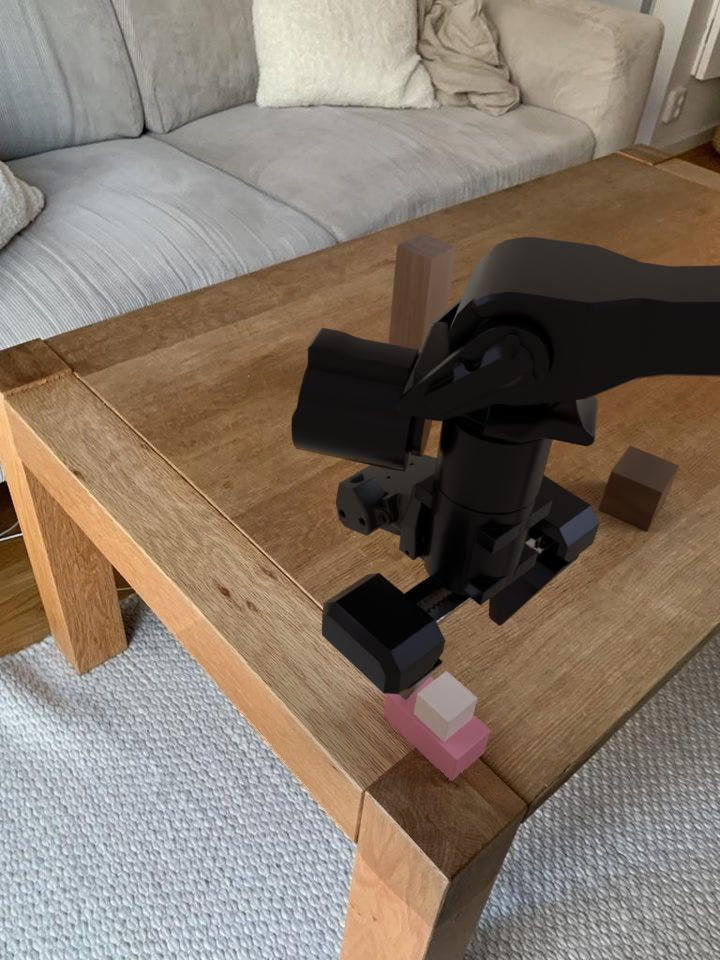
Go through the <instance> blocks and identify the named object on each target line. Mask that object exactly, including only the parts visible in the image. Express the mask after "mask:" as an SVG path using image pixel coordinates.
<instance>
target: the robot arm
mask: <svg viewBox="0 0 720 960" xmlns="http://www.w3.org/2000/svg"><path fill="white" fill-rule="evenodd" d="M418 352H419V354H418ZM658 377H711V378H712V377H713V378H714V377H715V378H716V377H717V378H718V377H719V378H720V265H719V264H717V265H713V264H712V265H664V264H658V263H649V262H644V261H640V260H637V259H635V258H632V257H629V256H626V255H624V254H622V253H619V252H616V251H614V250H611V249H608V248H605V247H603V246H599V245H596V244H588V243H581V242H573V241H566V240H559V239H552V238H543V237H537V236H522V237H521V236H520V237H516V238H511V239H506V240H504V241H502V242H499V243H496V244H495V245H493V247H492V248H491V250H489V251H488V252H487V253H486V254H484V255H483V257H482V258H481V259H480V260H479V261H478V262H477V263H476V264H475V266H474V269H473V271H472V272H471V275H470V277H469V279H468V282H467V284H466V287H465V290H464V291H463V294H462V297H461V298H459V299H458V300H457V301H456V302H455V303H454V304H453V305H451V306H450V307H449V308H448V309H447V311H446V312H445V313H444V314H442V315H441V316H440V317H439V318H438V319H437V320H436V321H434V322H433V323H432V324H431V326H430V328H429V330H428V333H427V335H426V337H425V340H424V342H423V344H422V347H421V349H420V351H419V350H418V349H414V348H408V347H403V346H398V345H393V344H388V342H383V341H382V342H381V341H377V340H372V339H368V338H367V339H366V338H361V337H358V336H354V335H352V334H350V333H348V332H345V331H342V330H338V329H332V328H328V327H322V328H320V329H319V330H318V331H317V333H316V334H315V336H314V338H313V339H312V341H311V342H310V344H309V345H308V347H307V365H306V368H305V371H304V374H303V377H302V379H301V384H300V388H299V392H298V398H297V403H296V408H295V410H294V411H293V413H292V416H291V425H290V426H291V428H290V429H291V430H290V431H291V440H292V444H293V446H294V448H295V449H296V450H300V451H303V452H304V451H305V452H308V453H314V454H319V455H323V456H327V457H331V458H336V459H341V460H346V461H350V462H354V463H359V464H363V465H364V464H365V465H368V466H366V467H364V468H362V469H361V470H359V471H357V472H356V473H354V474H353V475H350V476H349V477H347V478H346V479H344V480H342V481H339V482H338V485H337V491H336V497H335V507H336V510H337V516H338V520H339V522H340V523H341V525H342V526H343V527H345V528H347V529H349V530H351V531H354V532H356V533H359V534H361V535H364V536H366V537H368V536H370V535H371V534H373V533H375V532H377V531H378V530H383V531H386V532H388V533H390V534H392V535H395V536H398V537H399V545H398V550H399V551H400V552H401V553H403V554H404V555H405V556H406V557H407V558H409V559H410V560H411V561H416V560H417V559H418V558H419V559H421V560H422V561H423V567H424V570H425V572H426V573H427V575H428V577H426V578H425V579H424V580H422V581H420V582H419V583H417V584H416V585H415V586H413V587H412V588H410V589H409V590H407V591H405V592H403V591H402V590H401V589H399V588H398V587H397V586H396V585H395V584H393V583H392V582H391V581H389V579H387V578H386V577H385V576H384V575H382V574H381V573H380V572H374V573H369V574H366V575H365V576H362V577H361V578H359V579H358V580H357V581H355V582H354V583H352V584H350V585H349V586H348V587H345V588H344V589H342V590H341V591H340V592H338V593H337V594H335V595H333V596H332V597H329V599H327V600H325V601H324V602H323V604H322V615H321V636H322V637H323V638H324V639H325V640H326V641H327V642H328V643H329V644H330V645H331V646H333V647H334V648H335V649H336V650H337V651H338V652H339V653H340V654H341V655H342V656H343V657H344V658H345V659H346V660H347V661H348V662H349V663H351V665H353V666H354V668H356V669H357V670H358V671H359V672H360V673H361V674H362V675H363V676H364V677H365V678H367V680H368V681H369V682H371V683H372V684H373V686H374V687H376V688H377V689H378V690H379V691H380V692H381V693H382V694H399V695H400V696H401V697H402V698H403V699H404V700H407V699H408V698H410V697H411V696H412V695H413V694H414V693H415V692H416V691H417V690H418V689H419V688H420V687H421V686H422V684H423V683H424V682H425V681H426V680H427V679H428V678H429V677H432V675H433V674H435V672H436V671H437V670H438V669H439V668H440V667H441V666H442V665H443V660H442V659H441V658H440V657H441V656H442V654H443V653H444V648H445V644H446V638H445V637H444V634H443V633H442V631H441V628H440V626H439V624H441V623H442V622H443V621H445V620H447V618H449V617H450V616H452V615H453V614H455V612H457V611H459V610H460V609H461V608H463V607H464V606H465V605H467V604H468V603H470V602H471V601H472V600H473V601H474V602H475V604H478V606H482V605H484V604H485V603H487V601H488V617H489V619H490V620H491V621H492V622H494V624H496V625H497V626H500V627H501V626H503V625H504V624H506V622H508V621H509V620H510V619H511V618H512V617H513V616H514V615H516V614H517V613H518V612H519V611H520V610H521V609H522V608H523V607H524V606H526V604H527V603H529V602H530V601H531V600H532V599H533V598H534V597H536V596H537V595H538V594H539V593H540V592H541V591H542V590H544V589H545V588H546V587H547V586H548V585H550V583H551V582H552V581H554V580H555V579H556V578H557V577H558V576H560V575H561V573H563V572H564V571H565V570H567V569H568V568H569V566H571V565H572V564H574V562H576V561H577V560H578V559H579V556H580V555H581V554H582V553H583V552H584V551H586V550H587V549H589V548H590V547H591V546H592V545H594V541H595V539H596V537H597V532H598V530H599V527H600V521H599V519H598V517H597V515H596V513H595V510H594V508H593V506H592V504H590V503H588V502H587V501H586V500H584V499H582V498H581V497H580V496H578V495H576V494H574V492H573V493H572V492H571V490H568V489H567V488H565V487H563V486H562V485H560V484H559V483H557V482H556V481H554V480H553V479H551V478H549V477H548V476H546V475H545V471H546V468H547V463H548V461H549V460H548V459H549V456H550V453H551V449H552V444H553V441H557V442H563V443H568V444H572V445H577V446H582V447H590V446H592V445H593V444H594V443H595V441H596V431H597V422H598V414H599V413H598V412H599V400H598V398H597V397H596V396H598V395H600V394H602V393H605V392H608V391H610V390H613V389H615V388H617V387H620V386H622V385H626V384H627V383H630V382H633V381H636V380H641V379H649V378H658ZM433 421H435V422H441V425H440V432H439V438H438V445H437V453H436V457H434V456H430V455H427V454H424V452H425V451H426V447H427V444H428V441H429V437H430V433H431V429H432V425H433Z"/></svg>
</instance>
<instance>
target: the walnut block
mask: <svg viewBox="0 0 720 960" xmlns="http://www.w3.org/2000/svg"><path fill="white" fill-rule="evenodd" d="M679 469H680V465H679V464H677V463H675V462H672V461H670V460H667V459H664V458H663V457H659V456H657V455H655V454H652V453H649V452H647V451H644V450H643V449H641V448H640V449H639V448H638V447H635V446H633V445H629V446H628V447H627V448H626V450H625V451H624V452H623V454H622V456H621V457H620V458H619V459H618V461H617V462H616V464H615V465H614V467H613V468H612V469H611V471H610V473H609V476H608V480H607V482H606V486H605V488H604V491H603V495H602V497H601V500H600V504H599V505H598V511H601V512H602V513H604V514H607V515H609V516H611V517H613V518H616V519H618V520H621V521H622V522H625V523H627V524H629V525H632V526H634V527H636V528H639V529H640V530H643V531H645V532H648V531H649V529H650V528H651V526H652V525H653V523H654V522H655V520H656V518H657V516H658V515H659V513H660V512H661V510H662V508H663V507H664V505H665V503H666V500H667V498H668V495H669V493H670V491H671V488H672V486H673V482H674V480H675V478H676V476H677V474H678V471H679Z"/></svg>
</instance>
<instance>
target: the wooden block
mask: <svg viewBox="0 0 720 960" xmlns="http://www.w3.org/2000/svg"><path fill="white" fill-rule="evenodd" d="M456 250H457V247H456V245H454V244H451V243H450V242H446V241H444V240H441V239H439V238H436V237H433V236H431V235H428V234H426V233H419V234H417V235H415V236H413V237H411V238H409V239H408V240H405V241H403V242H401V243H399V244H398V245H397V247H396V252H395V263H394V264H395V265H394V272H393V273H394V276H393V286H392V287H393V288H392V296H391V297H392V298H391V310H390V319H389V321H390V322H389V332H388V341H387V343H388V344H393V345H398V346H403V347H408V348H414V349H418V350H419V351H420V349H421V347H422V344H423V342H424V340H425V337H426V335H427V333H428V330H429V328H430V326H431V324H432V323H433V322H434V321H436V320H437V319H438V318H439V317H440V316H441V315H442V314H444V313H445V312H446V311H447V310H448V309H449V308H448V307H449V300H450V293H451V286H452V279H453V272H454V265H455V258H456V257H455V256H456V252H457V251H456ZM418 354H419V352H418Z"/></svg>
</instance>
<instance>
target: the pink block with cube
mask: <svg viewBox="0 0 720 960" xmlns="http://www.w3.org/2000/svg"><path fill="white" fill-rule="evenodd" d="M477 701H478V697H477V696H476V695H475V694H474V693H472V692H471V691H470V690H469V689H468V688H467V687H466V686H464V685H463V684H462V683H461V682H460V681H459V680H458V679H457V678H455V677H454V676H453V675H452V674H451V673H450V672H448V671H447V670H445V671H444V672H443V673H441V674H440V675H439V676H437V678H435V679H434V678H433V677H432V676H430V677H429V678H428V679H427V680H426V681H425V682H424V683H423V684H422V686H421V687H420V688H419V689H418V690H417V691H416V692H415V693H414V694H413V695H412V696H411V697H410V698H408V699H407V700H404V699H403V698H402V697H401V696H400V695H399V694H386V695H385V703H384V711H383V718H384V719H385V720H386V721H387V722H388V723H389V724H391V725H392V727H393V728H394V729H396V730H397V731H398V733H400V735H402V736H403V737H404V738H405V740H407V741H408V742H409V743H410V744H411V745H412V746H413V747H414V748H415V749H416V750H417V751H418V752H419V753H420V754H421V755H422V756H424V757H425V758H426V759H427V761H429V762H430V763H431V764H432V765H433V766H434V767H435V768H436V770H438V769H439V770H438V771H439V772H440V771H441V772H442V773H444V775H445V776H447V777H448V778H449V779H448V781H450V780H451V781H452V782H453V780H454V779H455V778H456V777H457V776H458V775H459V774H460V773H461V774H462V773H464V772H465V771H466V770H467V769H469V767H470V766H471V765H473V764H474V763H475V762H476V761H477V760H478V759H479V758H481V756H483V755H484V754H485V752H486V748H487V745H488V741H489V738H490V734H491V732H492V731H491V729H490V728H489V727H488V726H487V725H486V724H485V723H483V722H482V721H481V720H480V719H479V718H478V717H477V716H475V715H474V714H475V710H476V706H477ZM465 769H466V770H465ZM464 770H465V771H464ZM463 771H464V772H463ZM441 772H440V773H441ZM442 773H441V774H442ZM461 774H460V775H461ZM444 775H443V776H444ZM460 775H459V776H460ZM445 776H444V777H445ZM459 776H458V777H459ZM458 777H457V778H458ZM457 778H456V779H457ZM456 779H455V780H456ZM455 780H454V781H455ZM451 781H450V782H451Z"/></svg>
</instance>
